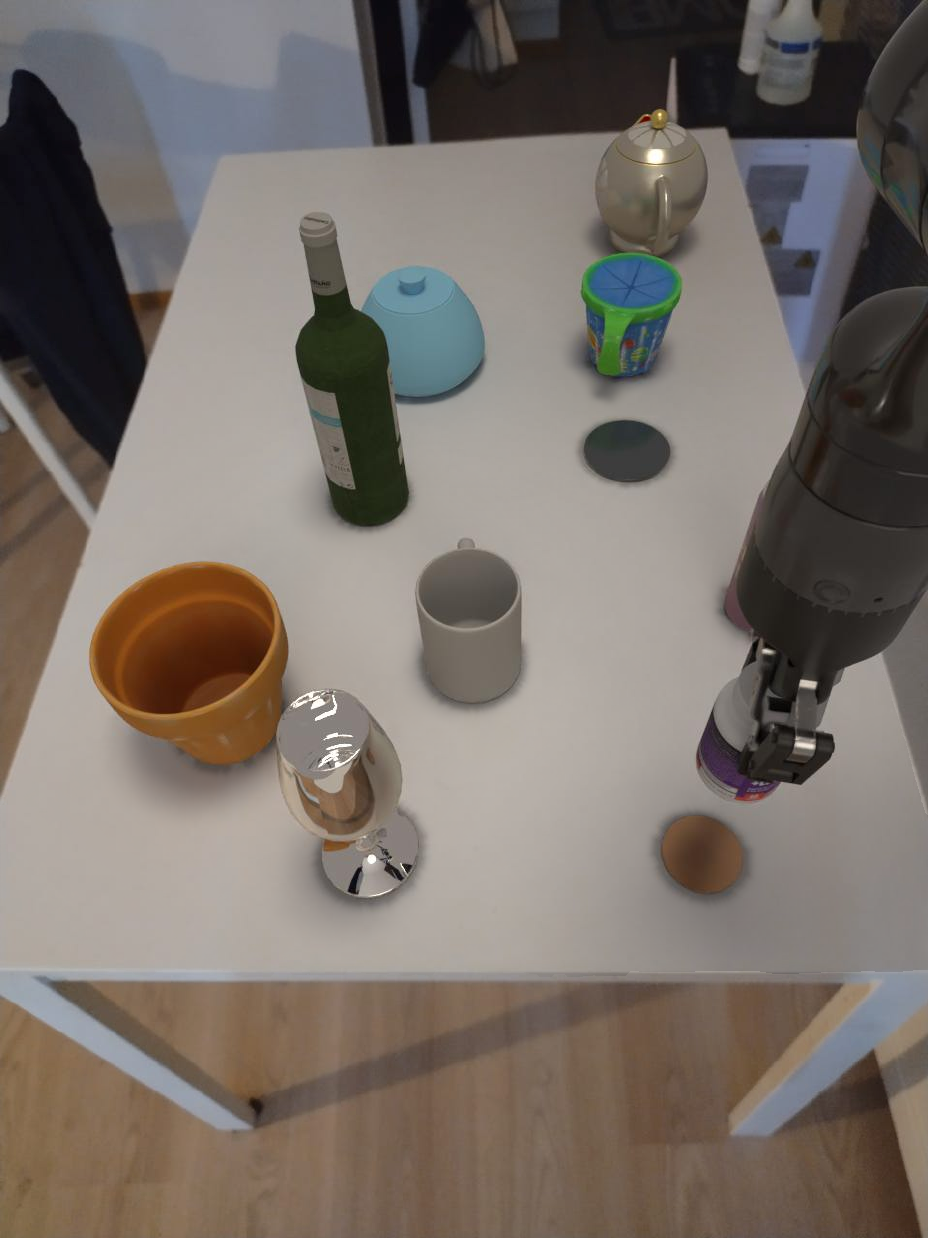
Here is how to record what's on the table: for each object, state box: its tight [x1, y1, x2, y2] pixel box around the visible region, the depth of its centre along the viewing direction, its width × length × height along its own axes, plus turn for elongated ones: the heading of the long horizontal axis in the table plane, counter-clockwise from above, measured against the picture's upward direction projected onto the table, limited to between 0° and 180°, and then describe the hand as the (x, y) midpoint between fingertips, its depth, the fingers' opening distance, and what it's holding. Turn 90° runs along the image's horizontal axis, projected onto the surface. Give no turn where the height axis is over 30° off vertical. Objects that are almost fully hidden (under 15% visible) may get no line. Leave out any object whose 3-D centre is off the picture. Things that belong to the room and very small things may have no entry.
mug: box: [414, 537, 523, 704], centre depth 73 cm, size 12×8×11 cm
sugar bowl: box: [360, 265, 486, 398], centre depth 96 cm, size 15×15×12 cm
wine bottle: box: [294, 211, 410, 527], centre depth 76 cm, size 8×8×30 cm
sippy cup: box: [580, 252, 683, 378], centre depth 95 cm, size 16×10×10 cm
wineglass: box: [275, 688, 420, 899], centre depth 59 cm, size 8×8×20 cm
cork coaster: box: [661, 815, 744, 894], centre depth 65 cm, size 6×6×1 cm
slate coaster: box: [583, 419, 671, 483], centre depth 90 cm, size 9×9×1 cm
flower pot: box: [88, 561, 289, 766], centre depth 69 cm, size 14×14×13 cm
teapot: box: [594, 108, 709, 258], centre depth 105 cm, size 18×14×16 cm
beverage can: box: [723, 478, 771, 633], centre depth 72 cm, size 6×6×15 cm
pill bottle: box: [695, 661, 786, 805], centre depth 51 cm, size 5×5×10 cm
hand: (757, 725), depth 50 cm, fingers closed on pill bottle, 5 cm apart
